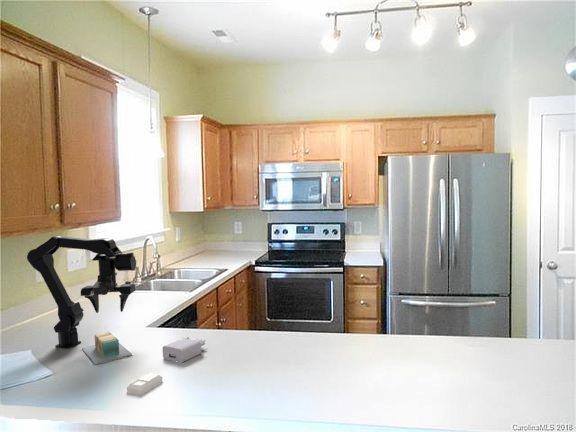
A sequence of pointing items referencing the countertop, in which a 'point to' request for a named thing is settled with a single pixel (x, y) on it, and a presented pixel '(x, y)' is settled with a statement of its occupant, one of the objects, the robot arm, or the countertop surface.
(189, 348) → the charger
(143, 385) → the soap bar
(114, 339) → the oak block
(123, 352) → the mat
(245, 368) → the countertop surface
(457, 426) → the countertop surface
